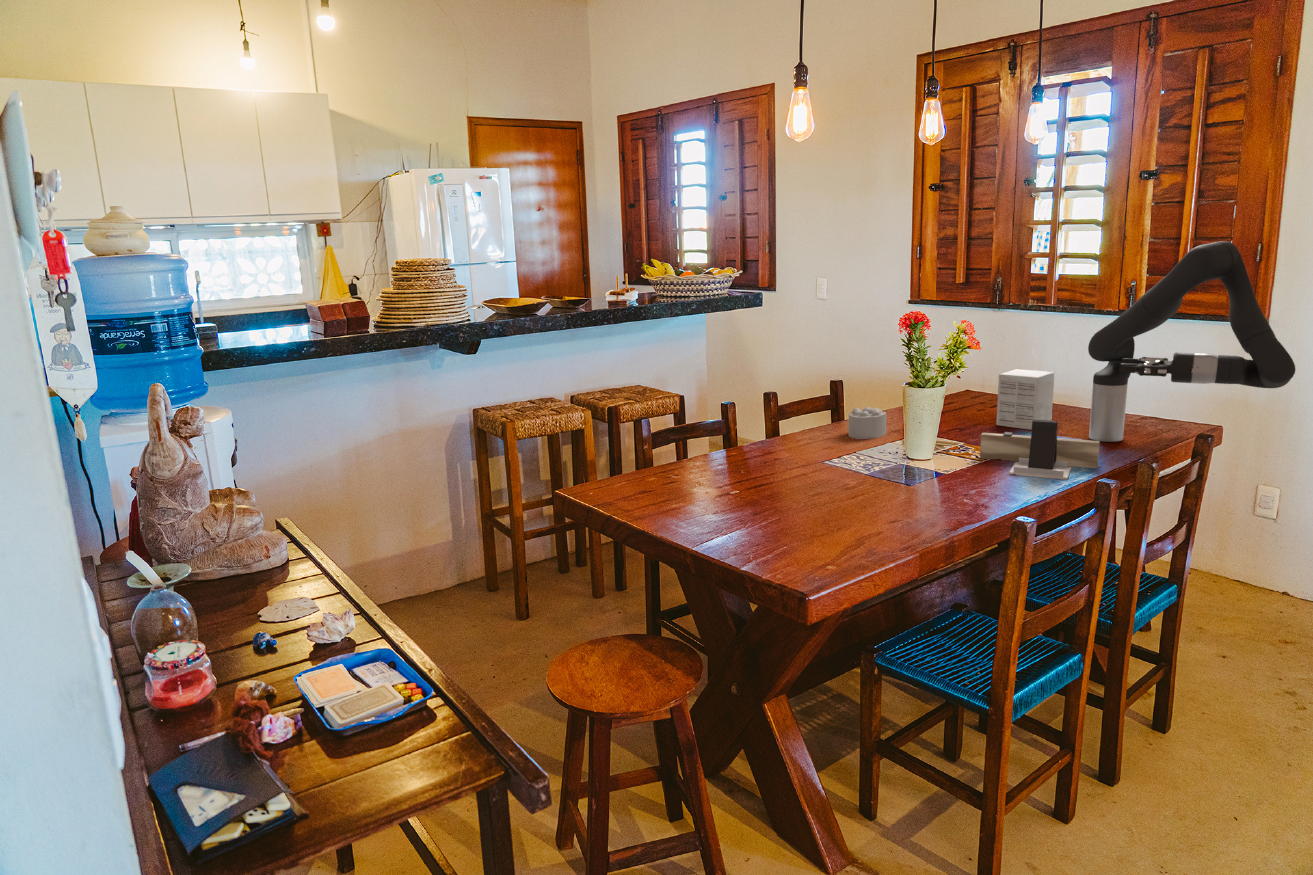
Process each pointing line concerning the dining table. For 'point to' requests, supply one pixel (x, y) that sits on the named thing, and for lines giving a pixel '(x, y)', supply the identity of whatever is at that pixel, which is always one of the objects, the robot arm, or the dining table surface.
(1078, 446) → the door board
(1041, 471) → the keeper plate
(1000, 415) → the supplement box
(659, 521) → the dining table surface
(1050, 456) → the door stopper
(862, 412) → the lumpy-topped squat cylinder
